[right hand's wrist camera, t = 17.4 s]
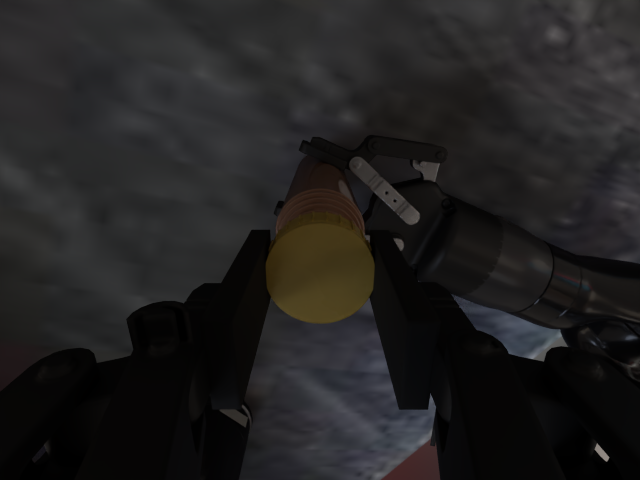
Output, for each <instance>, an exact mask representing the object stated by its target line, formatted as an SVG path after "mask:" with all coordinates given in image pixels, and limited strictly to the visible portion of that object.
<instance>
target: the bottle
mask: <svg viewBox="0 0 640 480" xmlns="http://www.w3.org/2000/svg"><path fill="white" fill-rule="evenodd" d="M313 211H314V213H315V212H325V213H326V211H328V213H332V214H336V215H339V214H340V215H341V216H342V217H344V218H346V219H348V220H349V221H350V222H351V221H353V223H354V225H356V226H357V227H358V228H359V229H360V230H361V229H362V231H363V234H364V235H365V226H364V221H363V217H362V215H361V212H360V210H359V207H358V205H357V202H356V200H355V197H354V195H353V192H352V190H351V187H350V185H349V182H348V180H347V177H346V175H345V172H344V170H341V169H339V168H337V167H335V166H333V165H330V164H327V163H325V162H323V161H321V160H318V159H316V158H314V157H311V156H309V155H307V156H305V157H304V158H303V159H302V161H301V162H300V164H299V166H298V168H297V171H296V173H295V176H294V178H293V181H292V183H291V186H290V188H289V191H288V193H287V196H286V198H285V201H284V203H283V206H282V208H281V211H280V213H279V216H278V219H277V223H276V235H277V232H278V230H281V229H282V228H283V227H284V226H285V225H286V224H287V221H291V220H293V219H295V218H297V217H299V215H301V216H302V215H305V214H309V213H312V212H313Z"/></svg>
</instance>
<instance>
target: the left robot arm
mask: <svg viewBox="0 0 640 480" xmlns="http://www.w3.org/2000/svg"><path fill="white" fill-rule="evenodd" d="M299 151H301V152H302V153H305V154H307V155H309V156H311V157H314V158H316V159H318V160H321V161H323V162H325V163H327V164H330V165H333V166H335V167H337V168H339V169H341V170H345V168H347V169H349V170H351V171H352V172H353V173H354V174H355V175H356V176H357V177H359V178H360V179H361V180H362V181H363V182H364V183H365V184H366V185H367V186H368V187H369V188H370V189H371V190H372V191H373V192H374V193H373V195H372V197H371V199H370V203H369V208H368V210H367V211H366V212H365V213H364V214H363V215H362V217H363V221H364V226H365V235H364V236H365V238H366V240H369V243H370V230H389V232H390V233H391V235H392V237H393V239H394V240H395V242H396V244H397V246H398V247H399V249H400V251H401V253H402V254H403V256H404V258H405V259H406V261H407V263H408V265H409V266H410V268H411V270H412V272H413V273H414V275H415V277H416V279H417V280H418V281H421V282H437V283H438V284H440V285H441V286H443V287H444V288H446V289H447V290H448V291H449V292H450V293H451V294H453V295H456V296H458V297H461V298H463V299H466V300H468V301H471V302H473V303H476V304H479V305H481V306H485V307H489V308H493V309H497V310H501V311H504V312H506V313H509V314H511V315H514V316H516V317H519V318H521V319H524V320H526V321H529V322H531V323H534V324H536V325H539V326H542V327H546V328H550V329H560V331H561V334H562V337H563V339H564V341H565V342H566V344H567V346H568V347H572V348H577V349H580V350H584V351H587V352H589V353H591V354H593V355H595V356H598V357H600V358H601V359H603V360H604V361H606V362H607V363H609V364H610V365H612V366H613V367H614V368H615V369H616V370H618V371H619V372H620V373H621V374H622V375H624V376H625V377H626V378H627V379H628V380H629V381H631V382H632V383H633V384H634V385H635V386H637V387H638V388H639V389H640V264H639V263H634V262H627V261H620V260H613V259H605V258H599V257H593V256H582V255H575V254H573V253H570V252H568V251H566V250H564V249H561V248H559V247H557V246H555V245H552V244H550V243H548V242H546V241H543V240H541V239H539V238H537V237H536V236H534V235H532V234H531V233H529V232H528V231H526V230H525V229H523V228H521V227H519V226H517V225H515V224H513V223H511V222H509V221H507V220H506V219H504V218H503V217H500V216H497V215H493V214H491V213H488V212H486V211H484V210H482V209H479V208H477V207H475V206H473V205H470V204H468V203H466V202H464V201H462V200H459V199H457V198H455V197H453V196H450V195H448V194H446V193H444V192H443V191H442V190H441V189H440V187H439V186H438V184H437V183H435V179H436V175H437V172H438V168H439V164H440V163H442V162H444V161H445V160H446V158H447V156H448V153H447V150H446V149H445V148H444V147H441V146H437V145H434V144H429V143H422V142H416V141H409V140H402V139H396V138H389V137H383V136H376V135H369V136H367V137H366V138H365V140H364V141H363V142H362V143H361V145H360V146H359V147H358V148H356V149H354V150H347V149H345V148H343V147H340V146H338V145H336V144H334V143H331V142H329V141H327V140H325V139H323V138H320V137H312V140H311V142H308V141H305V140H303V141H302V143H301V146H300V148H299ZM376 155H384V156H391V157H397V158H404V159H410V165H411V167H413V168H414V169H416V170H418V171H419V172H420V174H421V177H420V178H417V179H412V180H408V181H403V182H399V183H394V184H389V183H388V182H387V181H386V180H385V179H384V178H383V177H382V176H381V175H380V174H379V173H378V172H377V171H376V170H375V169H374V168H373V167H371V166H370V165H369V164H368V163H369V162H370V161H371V160H372V159H373V158H374V157H375V156H376ZM283 203H284V202H283V201H278V204H277V206H276V208H275V211H274V214H275V215H276V216H279V213H280V211H281V208H282V206H283ZM204 412H205V418H206V430H205V438H204V447H203V455H202V464H201V473H200V480H239V476H240V472H241V467H242V463H243V458H244V454H245V450H246V445H247V441H248V436H249V433H250V430H251V426H252V414H251V411H250V409H249V408H248V406H247V405H246V404H245V403H244V402H243V404H242V408H241V410H212V404H211V397H210V395H209V398H208V400H207V403H206V405H205V408H204Z"/></svg>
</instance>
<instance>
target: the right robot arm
mask: <svg viewBox="0 0 640 480" xmlns="http://www.w3.org/2000/svg"><path fill="white" fill-rule="evenodd" d="M270 244H271V239H270V230H251V232H250V234H249V236H248V237H247V239H246V241H245V243H244V244H243V246H242V248H241V250H240V251H239V253H238V255H237V257H236V258H235V260H234V262H233V263H232V265H231V267H230V269H229V270H228V272H227V274H226V276H225V277H224V279H223V281H222V283H204V284H203V285H201V286H199V287H198V288H196V289H195V290H193V291H192V293H191V294H190V296H189V297H188V298H187V301H186V302H185V303H184V304H183V303H181V302H176V301H162V302H157V303H152V304H149V305H147V306H144V307H141V308H140V309H138V310H136V311H135V312H133V313H132V314H131V315H130V316H129V317H128V318H127V319H126V320H127V324H128V328H129V333H130V337H131V341H132V345H133V349H134V350H133V352H132V354H131V356H127V357H124V358H119V359H115V360H110V361H105V362H100V363H97V362H96V359H95V355H94V353H93V352H91V351H90V350H89V349H84V348H74V349H66V350H62V351H58V352H55V353H53V354H51V355H49V356H47V357H45V358H42V359H40V360H39V361H37V362H36V363H35V364H33V365H32V366H30V367H29V368H28V369H26V370H25V371H24V372H23V373H22V374H21V375H19V376H18V377H17V378H16V379H15V380H14V381H12V382H11V383H10V384H9V385H8V386H6V387H5V388H4V389H3V390H2V391H1V392H0V480H200V473H201V464H202V455H203V447H204V438H205V430H206V418H205V412H204V408H205V405H206V403H207V400H208V398H209V395H210V397H211V404H212V410H241V408H242V404H243V401H244V397H245V393H246V389H247V385H248V382H249V378H250V374H251V370H252V366H253V363H254V359H255V355H256V351H257V348H258V344H259V340H260V336H261V332H262V329H263V325H264V321H265V317H266V313H267V310H268V306H269V302H270V298H271V296H270V294H269V292H268V290H267V281H266V260H267V257H268V254H269V251H268V249H269V247H270ZM370 246H371V248H372V251H371V253H372V255H373V258H374V262H375V270H374V286H373V291H372V293H371V295H370V301H371V305H372V309H373V312H374V316H375V320H376V324H377V328H378V331H379V335H380V339H381V343H382V346H383V350H384V354H385V358H386V362H387V365H388V369H389V373H390V377H391V381H392V384H393V388H394V392H395V396H396V399H397V403H398V407H399V410H428V406H429V399H430V393H431V395H432V398H433V400H434V403H435V405H436V412H435V418H434V424H433V431H432V437H431V444H430V445H431V446H435V443H436V446H437V455H438V463H439V471H440V480H640V389H639V388H638V387H637V386H635V385H634V384H633V383H632V382H631V381H629V380H628V379H627V378H626V377H625V376H624V375H622V374H621V373H620V372H619V371H618V370H616V369H615V368H614V367H613V366H612V365H610V364H609V363H607V362H606V361H604V360H603V359H601V358H600V357H598V356H595V355H593V354H591V353H589V352H587V351H584V350H580V349H577V348H572V347H562V346H560V347H555V348H551V349H550V350H549V351H548V352H547V353H546V356H545V360H544V362H543V361H538V360H533V359H528V358H523V357H518V356H515V355H511V354H509V353H508V351H507V349H506V348H505V347H504V345H503V344H502V343H501V342H500V341H499V340H497V339H496V338H495V337H493V336H491V335H489V334H487V333H484V332H482V331H478V330H476V329H475V327H474V326H473V325H472V323H471V322H470V320H469V319H468V318H467V316H466V315H465V313H464V312H463V311H462V309H461V308H459V305H458V304H457V302H456V301H455V300H454V298H453V297H452V295H451V294H450V292H449V291H448V290H447V289H446V288H444V287H443V286H441V285H440V284H438V283H437V282H418V280H417V279H416V277H415V275H414V273H413V272H412V270H411V268H410V266H409V265H408V263H407V261H406V259H405V258H404V256H403V254H402V253H401V251H400V249H399V247H398V246H397V244H396V242H395V240H394V239H393V237H392V235H391V233H390V232H389V230H370ZM597 443H598V445H599V446H600V447H601V448H602V449H603V450H604V451H605V453H606V454H607V455H608V456H609V460H608V461H607V462H606V461H605V460H604V459H603V458H601V457H600V455H599V454H598V453H597V452H596V451H595V450H594V449H595V447H596V444H597ZM43 445H44V446H45V448H46V452H45V453H44V454H43V455H42V457H41V458H40V459H39V460H37V461H36V462H35V463H34V462H33V461H32V458H33V457H34V456H35V455H36V453H37V452H38V451H39V450H40V449H41V448H42V446H43Z"/></svg>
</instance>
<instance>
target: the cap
mask: <svg viewBox="0 0 640 480" xmlns="http://www.w3.org/2000/svg"><path fill="white" fill-rule="evenodd" d="M268 251H269V254H268V257H267V260H266V281H267V290H268V292H269V294H270V296H271V298H272V299H273V301H274V302H275V303H276V304H277V306H279V307H280V308H281V309H282V310H283V311H284V312H286V313H287V314H288V315H290V316H292V317H294V318H296V319H298V320H301V321H305V322H310V323H319V324H320V323H331V322H336V321H339V320H342V319H344V318H347V317H348V316H350V315H352V314H354V313H355V312H356V311H358V310H359V309H360V308H361V307H362V306H363V305H364V304H365V302H366V301H367V300H368V298H369V297H370V295H371V293H372V291H373V286H374V270H375V262H374V258H373V255H372V253H371V251H372V248H371V246H370V243H369V240H366V238H365V236H364V234H363V231H362V229H361V230H360V229H359V228H358V227H357V226H356V225H354V223H353V221H351V222H350V221H349V220H348V219H346V218H344V217H342V216H341V215H340V214H339V215H336V214H332V213H328V211H326V213H325V212H315V213H314V211H313V212H312V213H309V214H305V215H302V216H301V215H299V217H297V218H295V219H293V220H291V221H287V224H286V225H285V226H284V227H283V228H282V229H281V230H278V232H277V235H276V237H275V239H274V240H272V241H271V244H270V247H269V249H268Z"/></svg>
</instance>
